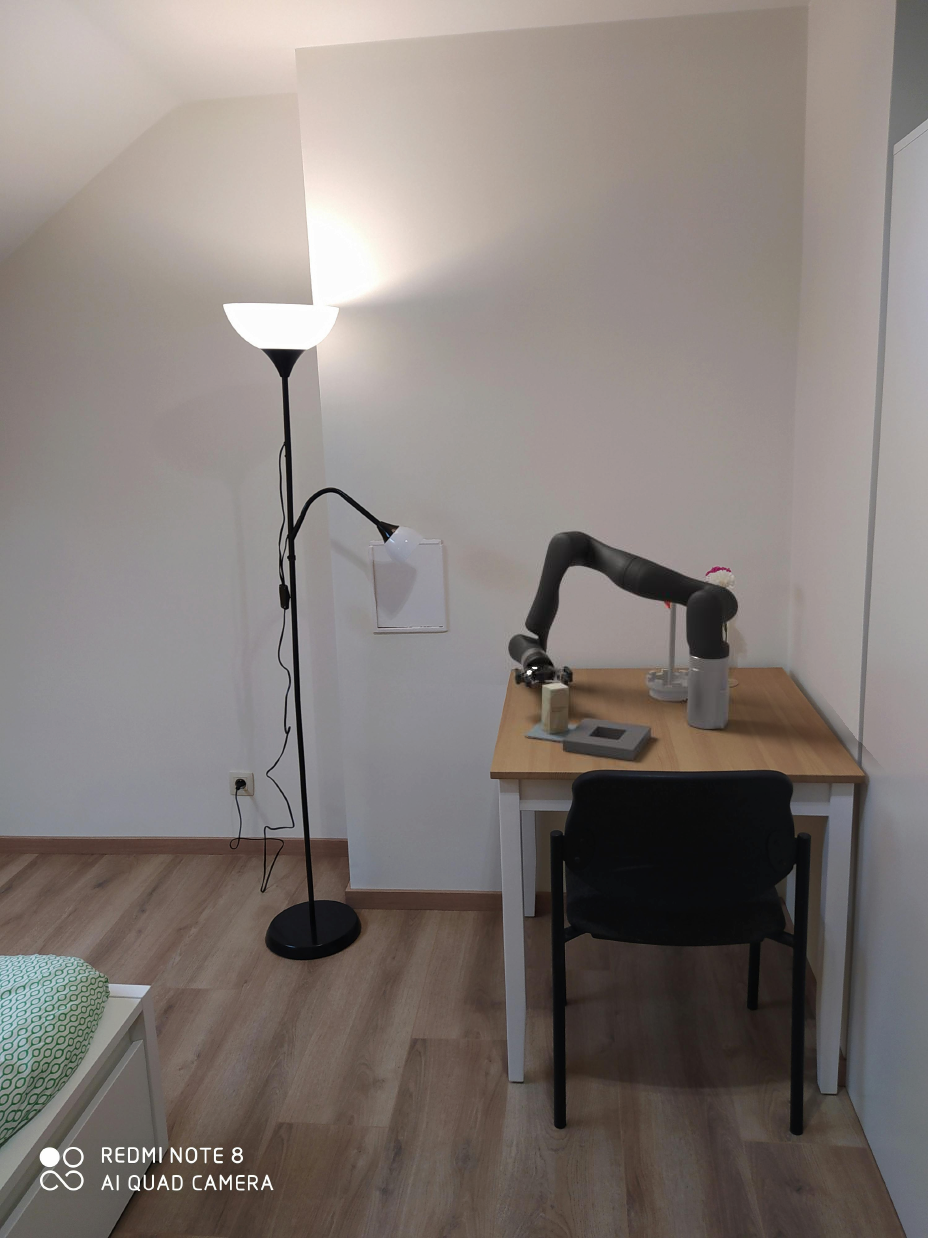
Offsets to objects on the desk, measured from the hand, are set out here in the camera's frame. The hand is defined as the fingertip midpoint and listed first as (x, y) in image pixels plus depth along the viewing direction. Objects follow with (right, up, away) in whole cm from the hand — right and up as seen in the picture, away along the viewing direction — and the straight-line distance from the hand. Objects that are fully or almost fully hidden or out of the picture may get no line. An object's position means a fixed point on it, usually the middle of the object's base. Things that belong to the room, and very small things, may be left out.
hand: (547, 684), depth 220 cm
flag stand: (+35, -5, +22) cm, 42 cm away
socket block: (+13, -13, -12) cm, 21 cm away
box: (+1, -11, -4) cm, 12 cm away
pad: (+1, -11, -4) cm, 12 cm away
